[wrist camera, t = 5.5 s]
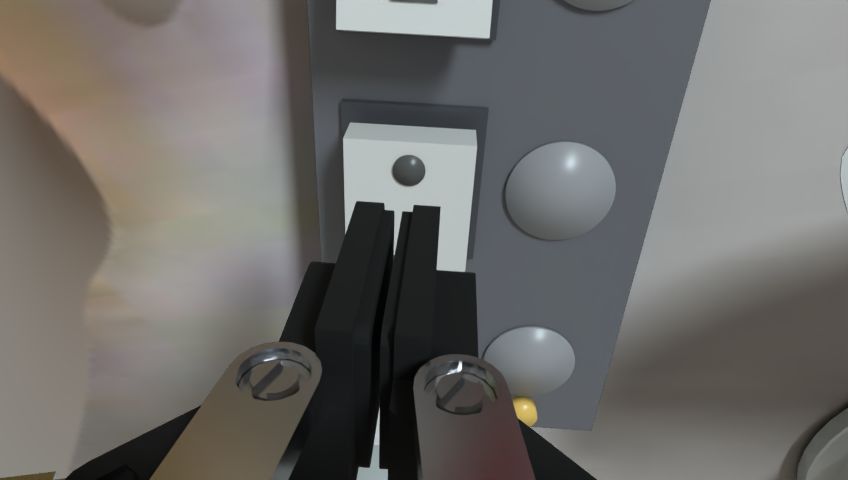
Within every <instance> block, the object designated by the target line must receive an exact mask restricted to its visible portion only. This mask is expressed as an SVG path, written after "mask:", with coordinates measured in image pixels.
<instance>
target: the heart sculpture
mask: <svg viewBox="0 0 848 480" xmlns="http://www.w3.org/2000/svg"><path fill="white" fill-rule="evenodd" d="M840 177H841V184H842V192H843V197H844V200H845V204H846V207H847V211H848V148H847V150H846V152H845V153H844V155H843V156H842V165H841V175H840Z"/></svg>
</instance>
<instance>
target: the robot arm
mask: <svg viewBox="0 0 848 480" xmlns="http://www.w3.org/2000/svg"><path fill="white" fill-rule="evenodd" d="M440 209H441V207H440V206H425V205H414V206H413V212H408V211H402V216H401V222H400V228H399V233H398V239H397V245H396V250H395V256H394V216H395V215H394V211H392V210H385V205H384V203H379V202H364V201H356V203H355V206H354V210H353V213H352V216H351V219H350V222H349V225H348V228H347V231H346V234H345V237H344V240H343V243H342V246H341V250H340V253H339V256H338V259H337V262H336V263H326V262H311V263H310V265H309V266H308V269H307V271H306V274H305V276H304V279H303V282H302V284H301V287H300V289H299V292H298V294H297V297H296V299H295V302H294V304H293V307H292V309H291V312H290V315H289V317H288V320H287V322H286V325H285V327H284V330H283V332H282V335H281V337H280V340H279V342H271V343H264V344H261V345H259V346H256V347H253V348H250V349H249V350H247V351H245V352H244V353H242V354H240V355H239V356H238V357H237V358H236V359H235V360H234V361H233V362H232V363H231V364H230V365H229V367H228V368H227V370H226V371H225V373H224V374H223V375H222V377H221V378H220V380H219V381H218V383H217V384H216V385H215V387H214V388H213V390H212V391H211V393H210V394H209V395H208V397H207V398H206V400H205V401H204V403H203V404H202V405H201V406H199V407H197V408H195V409H193V410H191V411H189V412H187V413H185V414H183V415H181V416H179V417H177V418H175V419H173V420H171V421H169V422H167V423H165V424H163V425H161V426H159V427H157V428H155V429H153V430H151V431H149V432H147V433H145V434H143V435H141V436H139V437H137V438H135V439H133V440H131V441H129V442H127V443H125V444H123V445H121V446H119V447H117V448H115V449H113V450H111V451H109V452H107V453H105V454H103V455H101V456H99V457H97V458H95V459H93V460H91V461H89V462H87V463H86V464H84V465H83V466H81V467H79V468H78V469H76V470H75V471H73V472H72V473H71V474H70V475H69V476H68V477H67V478H64V479H59V478H58V475H57V473H56V472H48V473H39V474H30V475H22V476H14V477H6V478H0V480H357V474H358V469H359V467H362V468H370V465H371V459H372V452H373V446H374V439H375V433H376V427H377V420H378V414H379V407H380V424H379V469H388V480H597V479H595V478H594V477H593V476H591V475H590V474H589V473H588V472H586V471H585V470H584V469H582V468H581V467H580V466H579V465H577V464H576V463H575V462H573V461H572V460H571V459H570V458H568V457H567V456H566V455H564V454H563V453H562V452H561V451H559V450H558V449H557V448H556V447H554V446H553V445H552V444H550V443H549V442H548V441H547V440H545V439H544V438H543V437H541V436H540V435H539V434H538V433H536V432H535V431H534V430H532V429H531V428H530V427H529V426H527V425H526V424H525V423H523V422H522V421H521V420H520V419H518V418H517V415H516V411H515V408H514V405H513V401H512V398H511V394H510V391H509V388H508V384H507V382H506V380H505V379H504V377H503V375H502V374H501V373H500V372H499V371H498V370H497V369H496V368H495V367H494V366H493V365H491V364H490V363H488V362H486V361H484V360H483V359H480V358H479V357H478V327H477V298H476V274H475V273H473V272H459V271H444V270H437V255H438V240H439V225H440ZM797 480H848V408H846V409H845V410H844V411H842V412H841V413H839V414H838V415H837V416H835V417H834V418H832V419H831V420H830V421H829V422H828V423H827V424H826V425H825V426H824V427H823V428H822V429H821V430H820V431H819V432H818V433H817V434H816V435H815V436H814V438H813V439H812V440H811V442H810V443H809V445H808V446H807V447H806V449H805V450H804V452H803V455H802V457H801V460H800V462H799V464H798V471H797Z"/></svg>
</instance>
